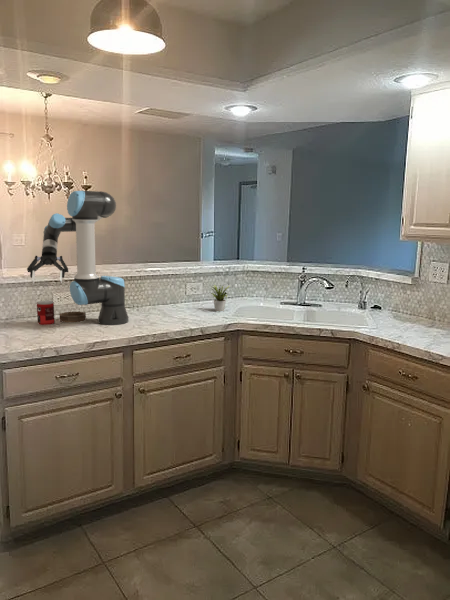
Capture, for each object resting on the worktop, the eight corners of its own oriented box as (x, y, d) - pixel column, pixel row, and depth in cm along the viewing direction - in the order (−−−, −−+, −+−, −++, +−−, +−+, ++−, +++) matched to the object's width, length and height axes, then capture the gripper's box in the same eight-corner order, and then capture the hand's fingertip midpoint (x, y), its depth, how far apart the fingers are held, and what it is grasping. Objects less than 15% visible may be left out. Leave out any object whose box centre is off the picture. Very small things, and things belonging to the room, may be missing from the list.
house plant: (202, 312, 283) (202, 283, 280) (208, 307, 296) (208, 280, 293) (226, 313, 280) (227, 284, 277) (231, 309, 293) (232, 281, 290)
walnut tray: (91, 319, 261) (90, 313, 261) (72, 323, 250) (72, 317, 250) (72, 316, 267) (72, 310, 267) (54, 320, 256) (54, 314, 256)
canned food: (40, 321, 253) (39, 300, 251) (56, 321, 254) (55, 300, 252) (35, 325, 246) (34, 303, 244) (52, 325, 246) (51, 303, 244)
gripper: (74, 254, 274) (72, 286, 263) (26, 254, 269) (22, 286, 258) (73, 245, 268) (71, 277, 257) (23, 245, 263) (19, 278, 252)
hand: (46, 282), depth 257 cm, fingers open, 13 cm apart
